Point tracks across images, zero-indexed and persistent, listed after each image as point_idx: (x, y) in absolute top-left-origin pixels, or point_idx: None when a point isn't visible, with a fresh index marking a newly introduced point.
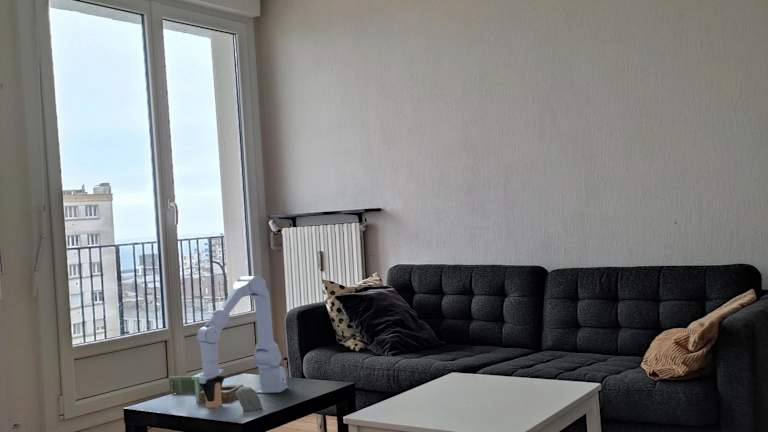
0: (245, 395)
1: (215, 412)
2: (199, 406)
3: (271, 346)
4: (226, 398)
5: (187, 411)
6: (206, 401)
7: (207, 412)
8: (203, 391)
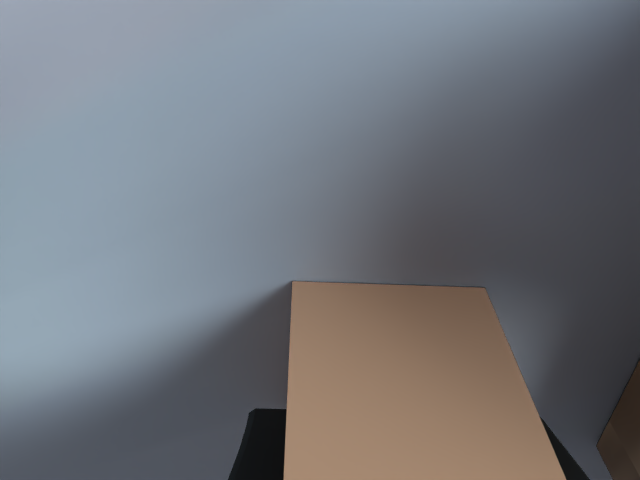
0: None
1: (42, 474)
2: (449, 94)
3: None
4: (635, 462)
5: (25, 8)
6: (288, 371)
7: (24, 394)
8: None
